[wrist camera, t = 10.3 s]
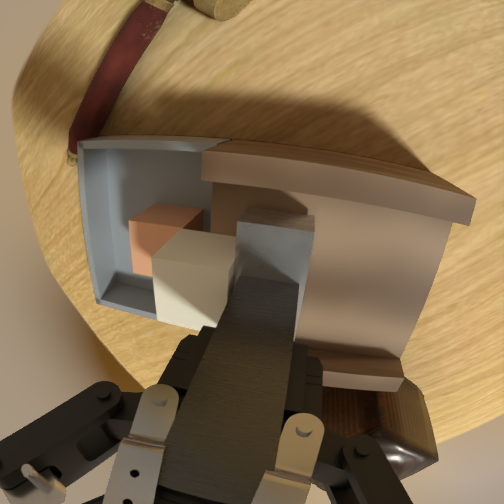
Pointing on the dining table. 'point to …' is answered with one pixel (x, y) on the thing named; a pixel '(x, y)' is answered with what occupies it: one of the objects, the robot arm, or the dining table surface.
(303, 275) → the grey upright post
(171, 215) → the terracotta cube
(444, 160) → the dining table surface
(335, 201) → the slot block
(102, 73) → the gavel
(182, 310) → the off-white cube
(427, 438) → the antique coffee grinder
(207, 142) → the tray
